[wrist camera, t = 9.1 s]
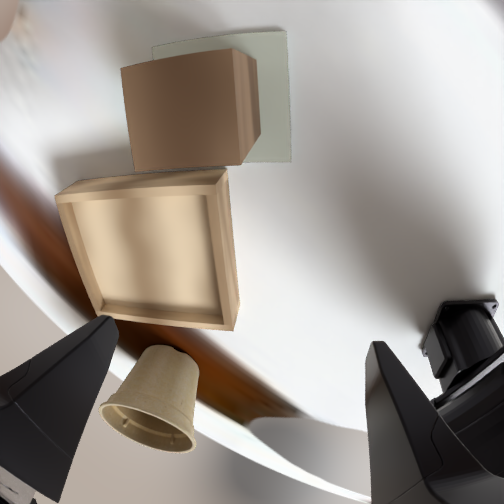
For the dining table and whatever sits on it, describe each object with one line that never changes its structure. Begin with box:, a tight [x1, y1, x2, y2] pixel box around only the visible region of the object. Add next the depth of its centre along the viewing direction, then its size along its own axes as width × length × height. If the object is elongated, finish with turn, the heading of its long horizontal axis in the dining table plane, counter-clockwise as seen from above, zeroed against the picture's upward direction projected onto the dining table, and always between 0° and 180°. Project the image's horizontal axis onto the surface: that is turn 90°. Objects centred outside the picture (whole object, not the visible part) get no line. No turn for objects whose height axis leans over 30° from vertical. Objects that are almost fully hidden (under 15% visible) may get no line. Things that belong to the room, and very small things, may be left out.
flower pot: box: [99, 345, 199, 453], centre depth 27 cm, size 9×9×9 cm
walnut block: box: [121, 48, 261, 172], centre depth 14 cm, size 4×4×7 cm
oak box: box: [55, 169, 240, 331], centre depth 22 cm, size 12×11×3 cm
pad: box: [152, 31, 291, 163], centre depth 17 cm, size 8×8×1 cm
